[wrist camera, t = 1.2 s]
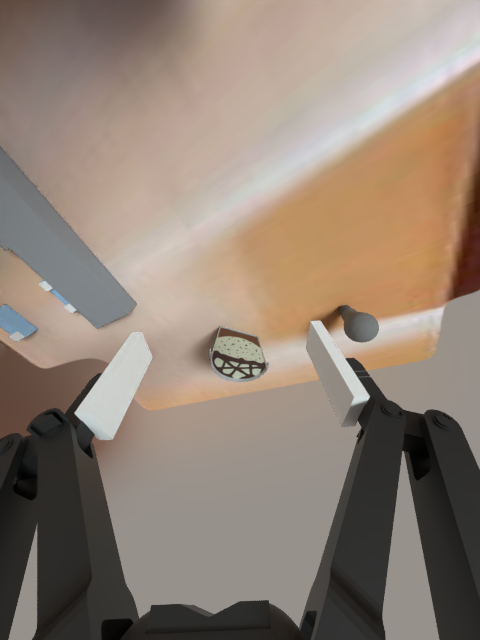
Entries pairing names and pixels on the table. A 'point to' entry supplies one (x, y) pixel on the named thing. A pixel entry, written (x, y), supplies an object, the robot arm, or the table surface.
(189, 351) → the table surface
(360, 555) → the robot arm
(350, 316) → the light bulb
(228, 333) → the food container
